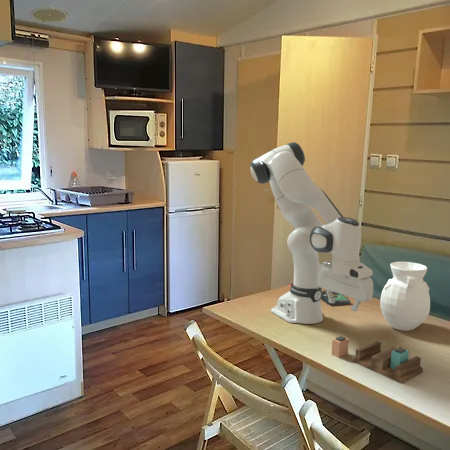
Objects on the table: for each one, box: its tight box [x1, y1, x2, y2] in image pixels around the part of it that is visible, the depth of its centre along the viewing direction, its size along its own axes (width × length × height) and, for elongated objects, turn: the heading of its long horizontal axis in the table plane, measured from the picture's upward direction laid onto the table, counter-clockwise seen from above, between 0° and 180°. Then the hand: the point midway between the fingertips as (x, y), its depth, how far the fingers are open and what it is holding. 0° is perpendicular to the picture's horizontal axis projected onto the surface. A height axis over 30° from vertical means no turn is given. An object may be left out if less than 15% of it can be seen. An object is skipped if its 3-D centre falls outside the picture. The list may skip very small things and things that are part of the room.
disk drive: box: [321, 290, 351, 306], centre depth 217 cm, size 10×3×15 cm
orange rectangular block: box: [331, 335, 350, 359], centre depth 160 cm, size 3×5×6 cm, turn 129°
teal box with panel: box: [390, 346, 410, 369], centre depth 148 cm, size 3×5×6 cm, turn 128°
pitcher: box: [379, 261, 431, 332], centre depth 184 cm, size 19×18×25 cm
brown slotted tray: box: [351, 340, 424, 384], centre depth 152 cm, size 18×12×4 cm, turn 38°
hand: (342, 306), depth 157 cm, fingers open, 8 cm apart
